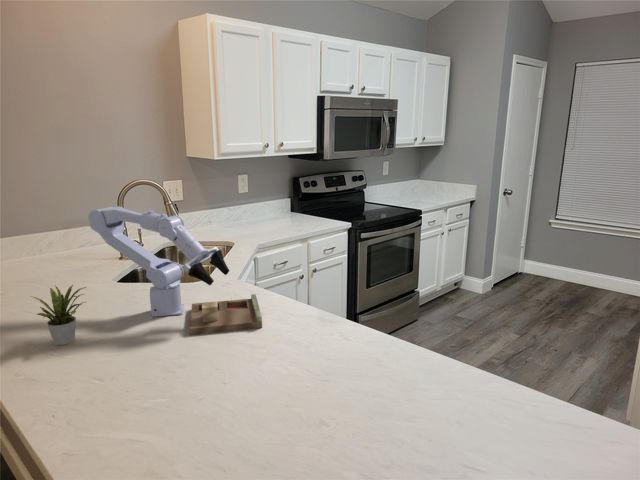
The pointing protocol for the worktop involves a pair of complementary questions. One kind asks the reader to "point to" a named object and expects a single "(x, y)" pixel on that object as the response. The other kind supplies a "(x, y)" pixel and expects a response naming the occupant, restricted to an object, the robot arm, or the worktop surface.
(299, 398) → the worktop surface
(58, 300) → the house plant
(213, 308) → the maple block
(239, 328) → the trap deck
